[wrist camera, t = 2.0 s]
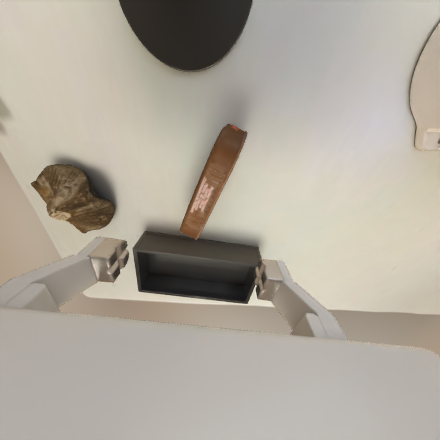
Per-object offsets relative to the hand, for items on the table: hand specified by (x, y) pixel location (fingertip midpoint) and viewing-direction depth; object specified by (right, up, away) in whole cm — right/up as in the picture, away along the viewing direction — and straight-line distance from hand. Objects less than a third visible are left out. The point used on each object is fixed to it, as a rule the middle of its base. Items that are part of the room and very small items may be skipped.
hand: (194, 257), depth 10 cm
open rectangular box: (-2, -6, +23) cm, 24 cm away
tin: (0, +9, +15) cm, 17 cm away
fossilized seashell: (-19, +6, +16) cm, 26 cm away
